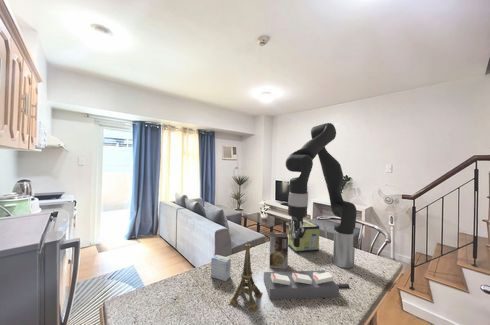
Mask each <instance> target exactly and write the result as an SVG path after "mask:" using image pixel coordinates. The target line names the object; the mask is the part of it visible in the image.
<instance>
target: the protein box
mask: <svg viewBox="0 0 490 325" xmlns="http://www.w3.org/2000/svg"><path fill="white" fill-rule="evenodd" d="M303 228H306V231H305V233H304V236H303V238H300V246H299V247H294V245H293V237H294V236H293V235H292V234H293V233H291V228H290V222H289V221H288V248H290V249H291V250H292V251H293V252H294V253H295V254H304V253H317V252H319V251H320V250H319V249H320V225H318V224H316V223H315V222H312V221H311V220H306V221H304V220H303Z"/></svg>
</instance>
